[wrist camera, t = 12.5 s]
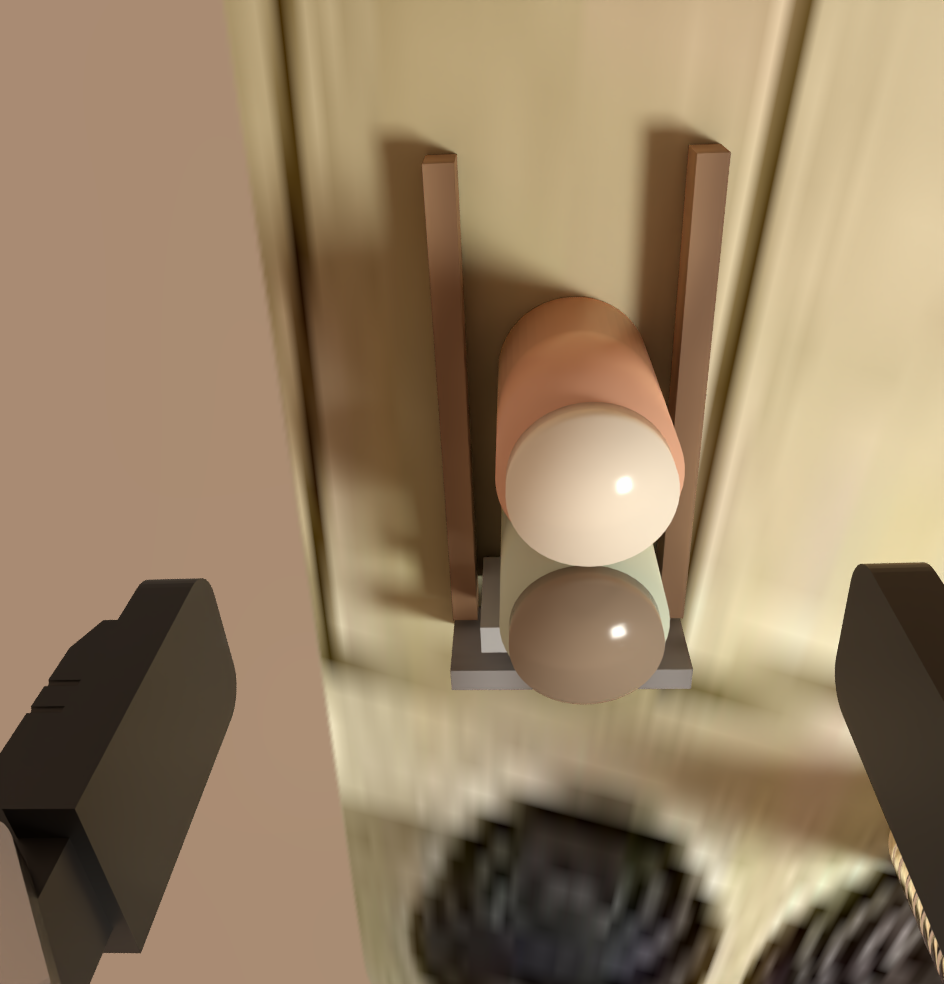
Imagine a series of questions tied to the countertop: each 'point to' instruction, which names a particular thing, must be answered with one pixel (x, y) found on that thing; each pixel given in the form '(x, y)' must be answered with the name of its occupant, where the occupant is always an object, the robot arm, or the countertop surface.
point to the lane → (683, 407)
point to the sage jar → (581, 622)
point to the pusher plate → (491, 606)
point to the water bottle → (916, 906)
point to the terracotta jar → (584, 435)
